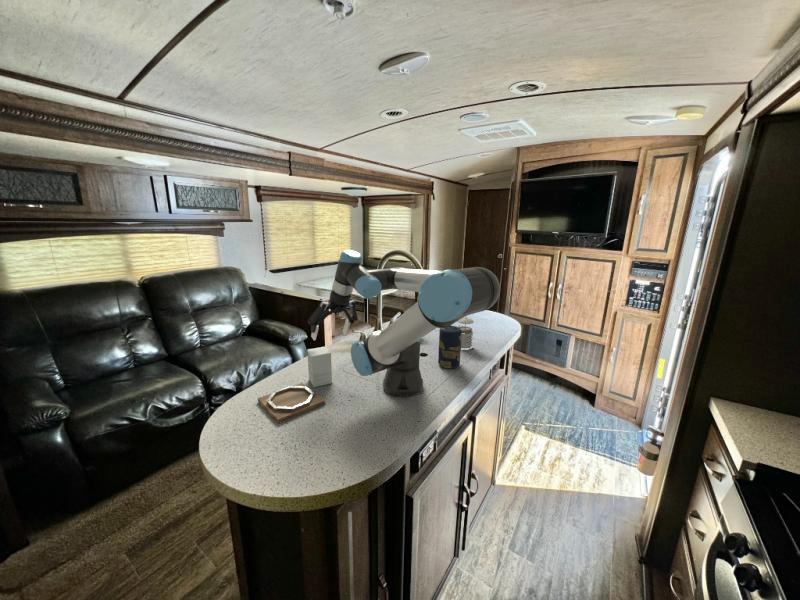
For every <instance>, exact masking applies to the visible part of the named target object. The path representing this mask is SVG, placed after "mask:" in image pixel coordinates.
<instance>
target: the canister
mask: <svg viewBox="0 0 800 600" xmlns="http://www.w3.org/2000/svg"><path fill="white" fill-rule="evenodd" d="M459 327H460V326H459ZM459 327H458V326H455V325H451V326H449V327H447V328H444V329H440V328H439V334H438V335H439V336H438V359H437V363H438V365H439V366H441V367H443V368H445V369H456V368H458V367H459V366H460V364H461V353H462V352H461V351H462V350H461V339H462V334H463V333H462V330H461V329H460V328H459ZM455 367H456V368H455Z"/></svg>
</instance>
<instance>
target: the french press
mask: <svg viewBox="0 0 800 600" xmlns="http://www.w3.org/2000/svg"><path fill="white" fill-rule="evenodd" d="M474 322H475V321H474V319H472V318H470V317H468V316H465V317H463V318H462V319H460V320H458V321H457V323H459V325H458V326H457V327H459V328H460V329H461V330H462V339H461V348H470V347H471V346H473V342H472V341H473V335H474V332H473V328H472V327H470V326H466V325H471V324H474ZM460 324H463V325H464V326H463V325H462V326H461V325H460Z"/></svg>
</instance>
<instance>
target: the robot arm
mask: <svg viewBox="0 0 800 600" xmlns="http://www.w3.org/2000/svg"><path fill="white" fill-rule="evenodd" d="M362 262H363V256H362V254H361V253H360V252H358V251H356V250H353V249H344V250H342V251H341V253H340V256H339V259H338V262H337V266H336V270H335V274H334V279H333V282H332V285H331V286H332V287H331V289H330V293H329V300H328V301H326V302H325V301H324V300H321V301H320V302H319V305H318V306H317V307H316V309H315V310H314V311H313V312H312V314H311V315H310V316H309V318H308V319H307V323H308V324H309V326H310V331H311V335H310V337H311V338H312V340H313V341H316V340H317V336H318V332H319V329H320V328H319V327H320V326H319V325H320V324H321V323H322V322H323V321H324V320H325V319H327V318H328V317H329V316H331V315H333V313H334V314H337V313H338V314H339V313H342V312H343V313H344V314H345V316H346V319H345V322H344V326H343V329H342V334H343V335H344V336H345V337H347V336H348V333H349V329H351V328H352V325H353V324H355V321H358V320H359V318H358V314H357V313H358V312H357V309H356V301H355V300H354V299H353V298H352V294H353V292H354V290H355V291H356V293H357V294H359V295H360V296H362V298H364V299H365V300H366V299H367V300H371V299H374V298H375V297H377V296H378V295H379V294H380V293H381V292H382V291H386V290H387V291H388V290H398V291H399V290H400V291H401V290H402V291H408V292H415V293H418V295H417V298H416V300H417V302H415V303H414V304H413V305H412V306H411V307H409V309H408V310H406V311H405V312H404V313H403V314H401V315H400V316H398V317H397V318H396V319H395V320H394V321H393V322H392V323H391V324H389V325H388V326H387V327H386V328H384V329H379V330H375V331H374V332H372V333H371V334H369V336H367V337H366V338H365V339H362V340H357V341H354V342H353V343H352V344H351V347H350V356H351V361H352V365H353V368H355V371H356V372H357V373H358V374H359V375H360V376H361V377H368V376H372V375H374V374H378V373H379V372H383V371H385V374H384V377H383V379H382V389H383V390H384V391H385V392H386V393H387V394H389V395H391V396H394V397H395V396H396V397H401V398H402V397H404V398H405V397H412V396H416V395H418V394H420V393H421V392H422V391H423V390H424V389H423V388H424V379H423V378H422V373H421V369H420V357H421V355H420V354H421V339H422V338H423V337H425V336H427V335H429V334H430V333H431V332H432V331H434V330H435V329H439V330H440V329H444V328H447V327H449V326H453V325H454V324H455V323H458V320H460V319H462V318H463V317H468V316H470V315H473V314H477V313H481V312H484V311H487V310H488V309H490V308H491V307H493V306H494V305H495V304H496V303H497V301H498V300H499V297H500V293H501V284H500V281H499V279H498V277H497V275H495V274H494V273H493V272H492V271H491V270H490V269H488V268H485V267H479V266H474V267H465V268H459V269H458V268H457V269H443V270H437V269H436V270H434V269H433V270H432V269H419V268H418V269H415V268H406V267H404V266H402V267H401V266H394V267H390V268H378V269H367V268H366V267H364V265H362ZM348 306H349V308H350V312H351V315H350V313H349V311H348V310H347V308H348Z"/></svg>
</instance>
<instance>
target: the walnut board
mask: <svg viewBox="0 0 800 600" xmlns="http://www.w3.org/2000/svg"><path fill="white" fill-rule="evenodd" d="M293 386H306V387H307V388H309V387H308V386H307V385H305V384H304V383H303V382H300V383H298V384H295V385H293ZM309 389H310V390H311V391H313V390H312V389H311V388H309ZM313 392H314V397H313V399H312V401H311V403H310V405H307V406H305V407H302V408H300V409H298V410H295V411H293V412H292V411H274V410H273V409H272V408H271V407H270V406H269V405H268V404H267V400H268V398H269V397H270V396H271V394H272V393H269V394H266V395H263V396H260V397H257V403H258V402H259V403H260V404H261V405H262V406H263V407H262V406H261V405H260V404H259V403H258V404H259V405H260V406H261V407H262V408H263V409H264V410H265V411H266V412H267V413H268V415H269V416H270V417H271V416H272V417H273V418H274V419H275V420H276V421H277V422H276V421H275V420H274V419H273V418H272V419H273V420H274V421H275V422H276V423H277V424H278V423H279V424H281V423H280V422H282V423H284V422H286V421H289V420H291V419H293V418H295V417H298V416H302V415H304V414H305V413H308V412H310V411H312V410H314V409H317V408H319V407H322V406H324V405H325V404H326V400H325V399H324V398H322V396H320V395H319V394H317V393H316V392H315V391H313ZM309 396H310V395H309V394H308V393H307V392H306V391H304V390H289V391H286V392H283V393H280V394H278V395H276V396H275V397H274V399H273V400H272V402H273V403H274V404H275V405H276V406H280V407H293V406H296V405H298V404H301V403H303V402H306V401H307V400H308V398H309ZM288 419H289V420H288ZM283 421H284V422H283Z"/></svg>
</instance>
